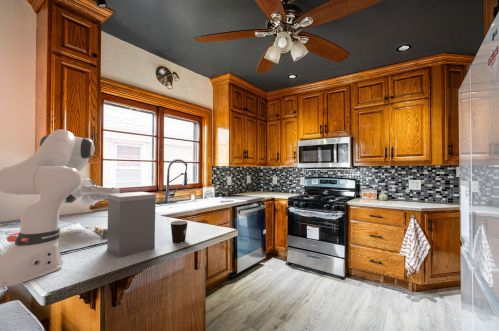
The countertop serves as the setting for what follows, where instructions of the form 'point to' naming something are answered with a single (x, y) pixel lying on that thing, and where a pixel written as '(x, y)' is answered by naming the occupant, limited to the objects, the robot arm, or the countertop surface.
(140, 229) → the case
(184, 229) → the coffee mug
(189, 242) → the countertop surface
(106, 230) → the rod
